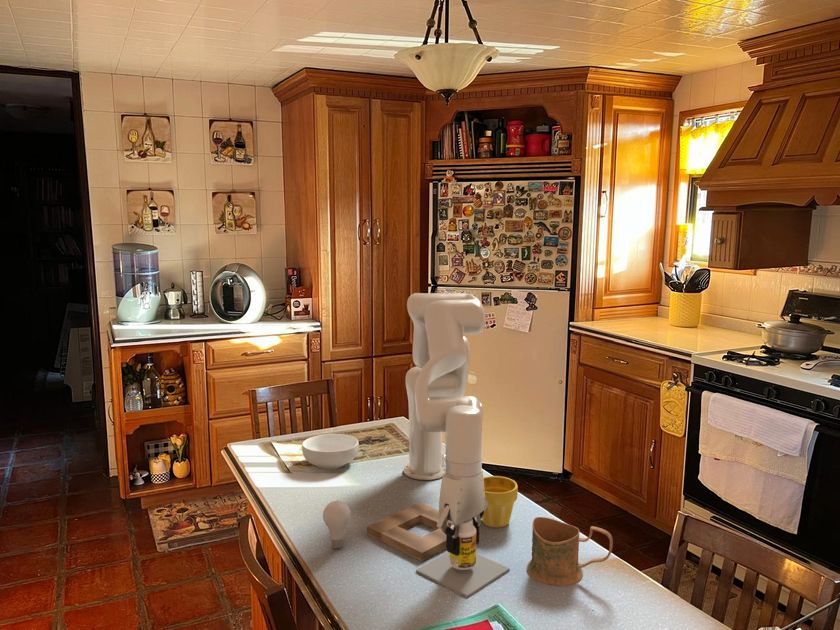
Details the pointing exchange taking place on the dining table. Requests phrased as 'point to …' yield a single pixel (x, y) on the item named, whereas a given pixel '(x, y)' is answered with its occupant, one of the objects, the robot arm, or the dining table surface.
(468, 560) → the supplement bottle
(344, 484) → the dining table surface
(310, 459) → the cereal bowl
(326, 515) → the lightbulb
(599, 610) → the dining table surface
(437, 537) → the wooden square frame
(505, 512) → the plant pot
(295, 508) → the dining table surface
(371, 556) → the dining table surface
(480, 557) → the grey mat
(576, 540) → the mug
